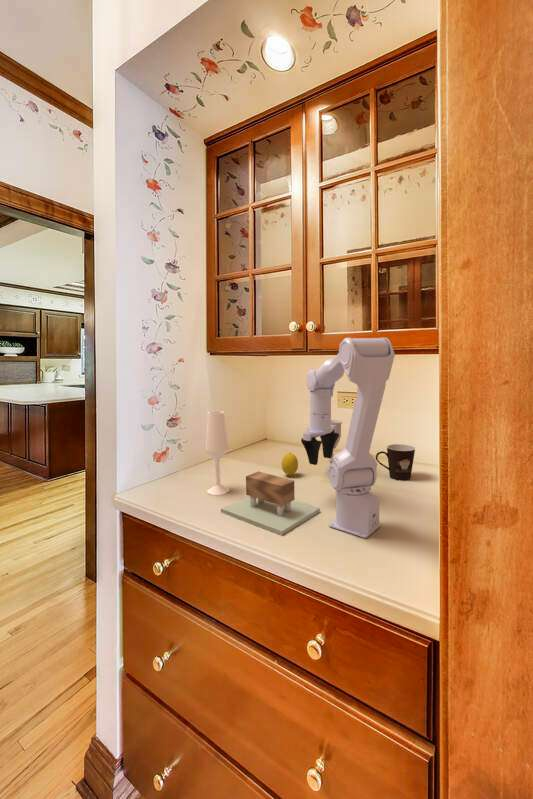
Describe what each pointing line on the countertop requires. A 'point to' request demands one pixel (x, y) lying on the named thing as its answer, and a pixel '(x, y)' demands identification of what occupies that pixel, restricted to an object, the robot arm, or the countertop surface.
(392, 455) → the coffee mug
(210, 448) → the champagne flute
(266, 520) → the peg base
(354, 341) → the robot arm
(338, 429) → the chalice
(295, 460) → the lemon
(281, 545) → the countertop surface
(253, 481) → the shelf block
